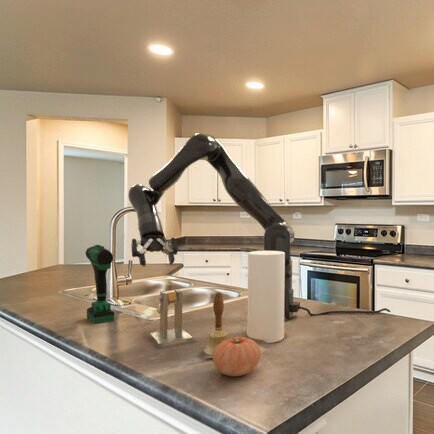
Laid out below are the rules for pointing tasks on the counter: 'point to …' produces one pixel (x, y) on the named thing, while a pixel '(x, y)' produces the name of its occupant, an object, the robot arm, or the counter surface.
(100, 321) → the power drill
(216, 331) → the hand bell
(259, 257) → the tall pillar cylinder
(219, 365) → the pumpkin
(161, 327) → the bracket
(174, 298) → the lever
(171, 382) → the counter surface
